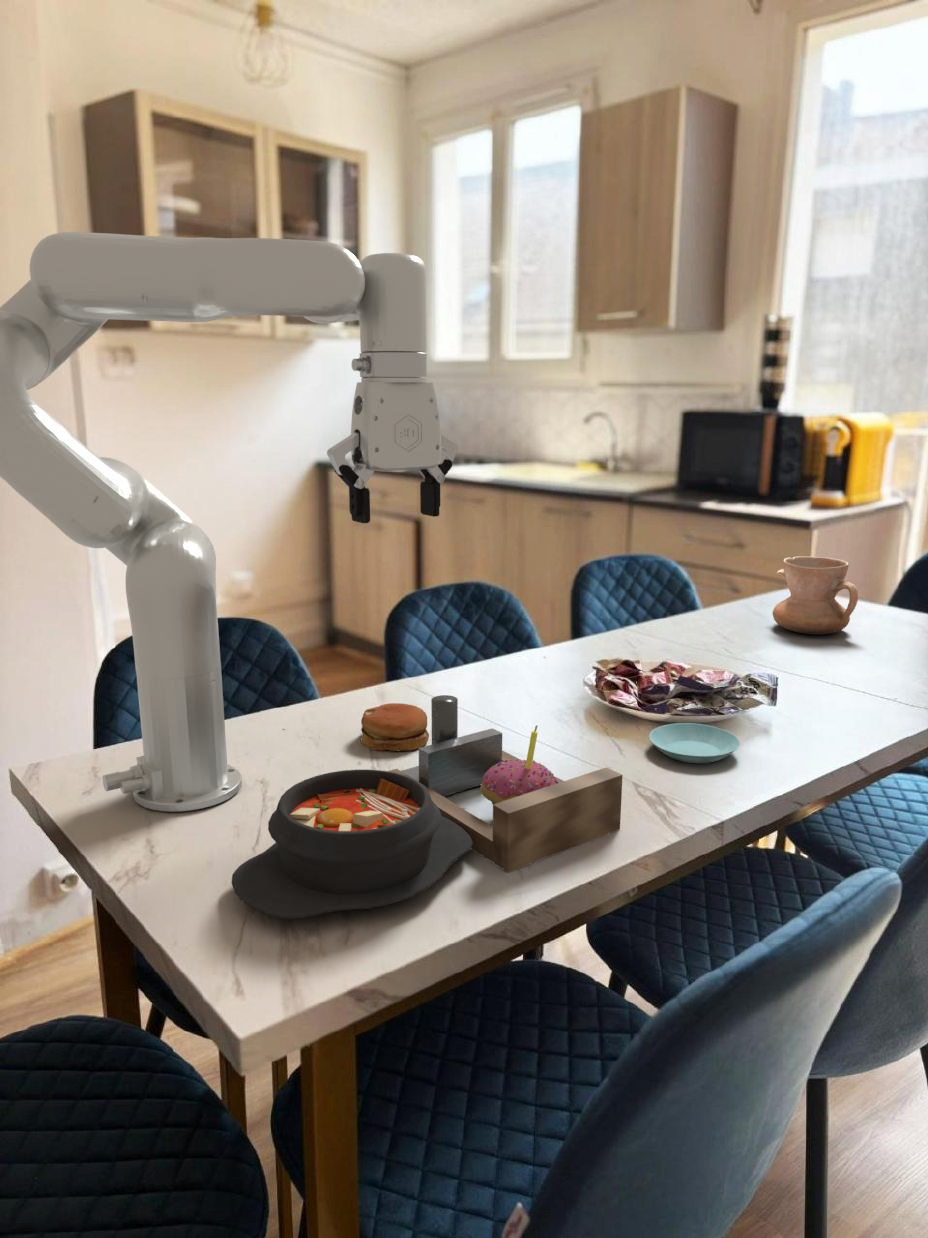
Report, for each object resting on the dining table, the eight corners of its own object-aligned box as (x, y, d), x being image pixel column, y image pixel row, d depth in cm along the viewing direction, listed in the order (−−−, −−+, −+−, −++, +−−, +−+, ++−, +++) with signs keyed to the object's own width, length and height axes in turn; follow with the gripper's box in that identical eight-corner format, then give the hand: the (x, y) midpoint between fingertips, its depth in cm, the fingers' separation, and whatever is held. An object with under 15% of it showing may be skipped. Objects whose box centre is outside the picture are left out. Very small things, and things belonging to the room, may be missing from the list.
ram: (428, 801, 109) (427, 719, 106) (396, 781, 114) (395, 702, 112) (501, 778, 115) (502, 700, 113) (468, 760, 120) (468, 685, 118)
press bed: (507, 872, 93) (508, 813, 92) (383, 790, 112) (382, 740, 111) (619, 829, 103) (622, 774, 101) (487, 760, 121) (488, 713, 120)
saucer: (691, 778, 116) (692, 762, 116) (629, 748, 126) (630, 732, 126) (757, 760, 122) (759, 744, 122) (693, 732, 132) (694, 717, 132)
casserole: (405, 808, 108) (404, 741, 106) (511, 872, 94) (512, 796, 92) (200, 878, 92) (194, 800, 90) (291, 967, 78) (287, 877, 76)
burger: (437, 749, 125) (437, 717, 124) (369, 758, 122) (368, 725, 121) (417, 725, 134) (417, 694, 133) (354, 732, 132) (353, 701, 130)
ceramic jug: (751, 626, 189) (756, 557, 186) (797, 617, 197) (803, 551, 193) (827, 646, 175) (834, 572, 171) (873, 636, 182) (882, 565, 179)
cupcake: (568, 816, 106) (571, 717, 103) (535, 847, 99) (538, 741, 96) (502, 799, 110) (503, 704, 107) (466, 828, 103) (466, 726, 100)
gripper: (343, 368, 98) (348, 528, 102) (474, 370, 108) (473, 516, 112) (310, 369, 104) (316, 520, 108) (437, 370, 114) (438, 509, 118)
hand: (396, 518), depth 110 cm, fingers open, 9 cm apart
